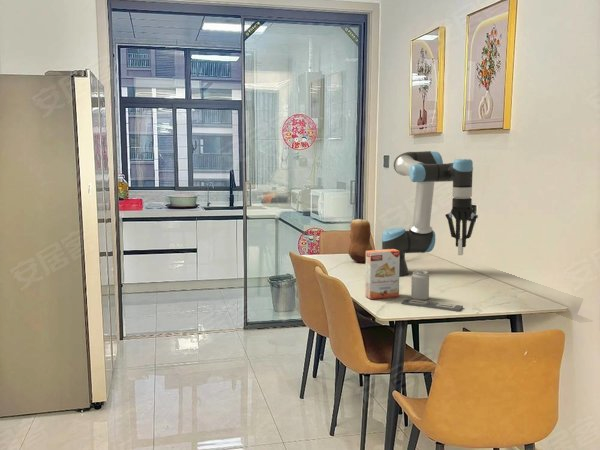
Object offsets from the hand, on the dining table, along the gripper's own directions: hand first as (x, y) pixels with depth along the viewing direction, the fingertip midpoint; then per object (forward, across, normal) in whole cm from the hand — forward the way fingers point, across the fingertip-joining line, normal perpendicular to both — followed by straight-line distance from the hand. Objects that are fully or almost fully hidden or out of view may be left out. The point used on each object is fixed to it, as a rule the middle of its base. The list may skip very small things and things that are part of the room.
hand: (460, 254), depth 229 cm
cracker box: (+22, +33, +3) cm, 39 cm away
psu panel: (+21, +9, +7) cm, 24 cm away
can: (+21, +17, -1) cm, 27 cm away
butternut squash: (+22, +72, -62) cm, 98 cm away
